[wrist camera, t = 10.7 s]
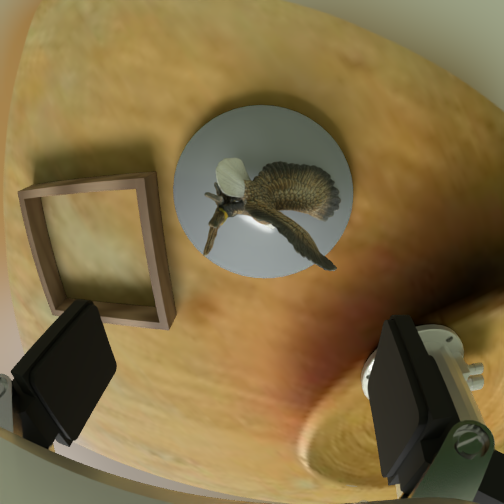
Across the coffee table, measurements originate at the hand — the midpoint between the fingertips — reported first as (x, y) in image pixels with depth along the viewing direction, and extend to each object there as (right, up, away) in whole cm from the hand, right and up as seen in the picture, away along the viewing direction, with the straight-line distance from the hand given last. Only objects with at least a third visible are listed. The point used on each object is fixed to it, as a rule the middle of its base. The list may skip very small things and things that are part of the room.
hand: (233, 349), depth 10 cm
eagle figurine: (+3, +7, +15) cm, 17 cm away
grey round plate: (+1, +8, +15) cm, 17 cm away
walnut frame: (-14, +3, +19) cm, 24 cm away
